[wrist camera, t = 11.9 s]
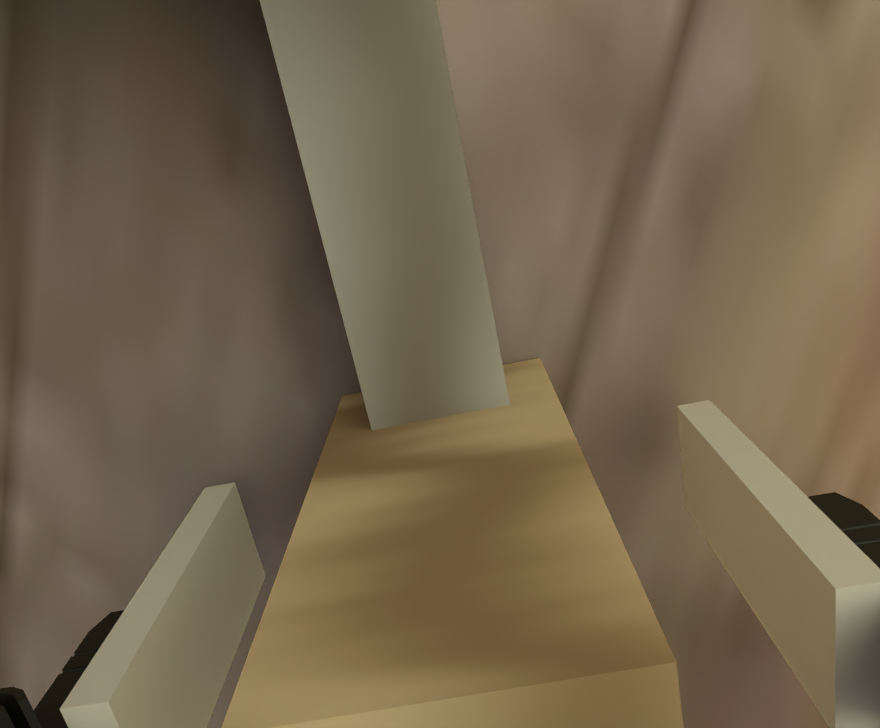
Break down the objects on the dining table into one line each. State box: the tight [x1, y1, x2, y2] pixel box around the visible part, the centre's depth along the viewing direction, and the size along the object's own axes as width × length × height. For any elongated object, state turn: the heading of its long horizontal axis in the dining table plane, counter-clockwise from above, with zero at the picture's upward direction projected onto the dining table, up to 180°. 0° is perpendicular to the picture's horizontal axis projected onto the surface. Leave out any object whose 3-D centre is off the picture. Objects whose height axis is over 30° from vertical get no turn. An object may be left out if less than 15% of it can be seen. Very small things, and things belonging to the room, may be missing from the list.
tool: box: [221, 0, 684, 728], centre depth 10 cm, size 5×22×10 cm, turn 12°
